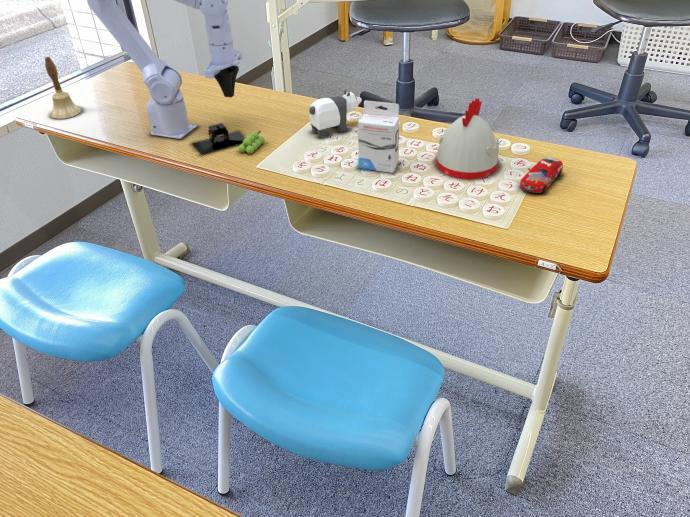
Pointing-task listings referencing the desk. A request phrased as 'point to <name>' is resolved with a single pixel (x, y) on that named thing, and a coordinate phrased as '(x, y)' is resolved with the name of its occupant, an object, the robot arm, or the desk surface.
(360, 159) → the ink box
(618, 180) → the desk surface
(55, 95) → the hand bell
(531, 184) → the race car
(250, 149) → the grapes
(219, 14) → the robot arm
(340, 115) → the giant panda
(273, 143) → the desk surface
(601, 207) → the desk surface
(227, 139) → the build plate
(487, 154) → the white and red dome
